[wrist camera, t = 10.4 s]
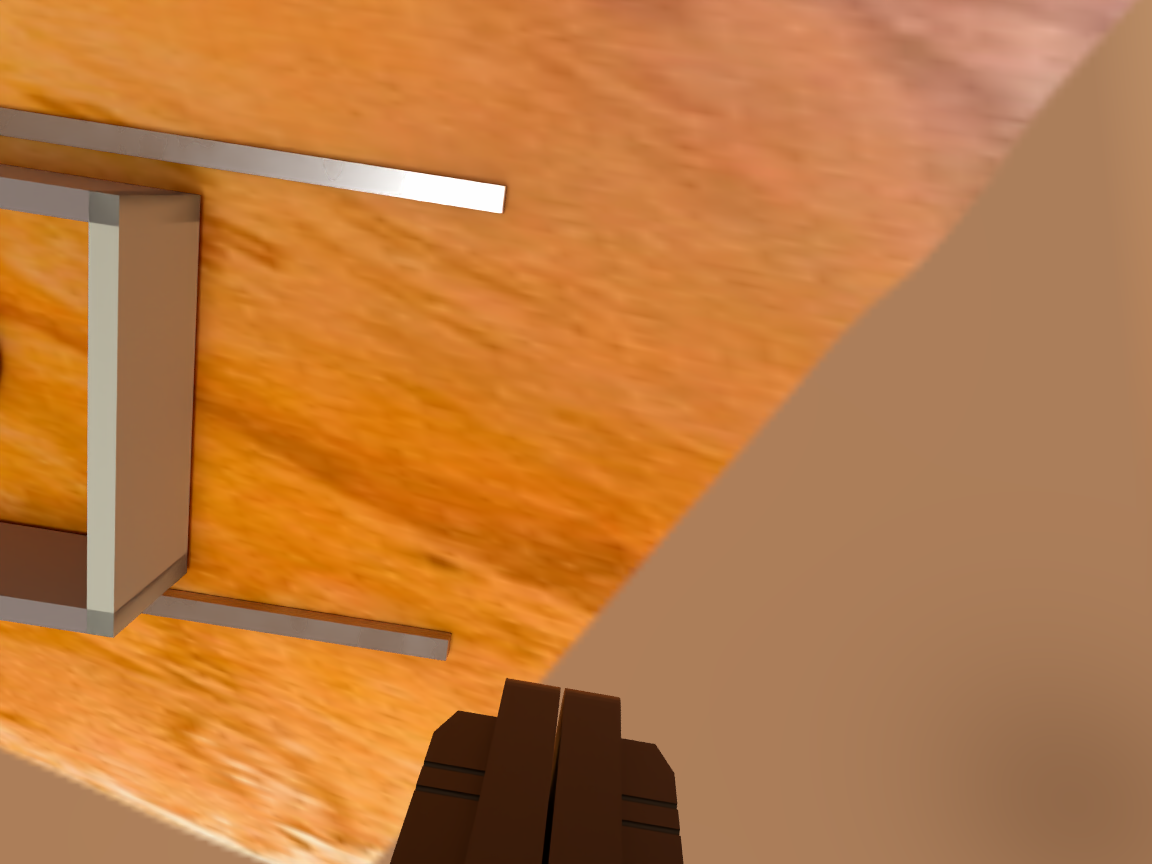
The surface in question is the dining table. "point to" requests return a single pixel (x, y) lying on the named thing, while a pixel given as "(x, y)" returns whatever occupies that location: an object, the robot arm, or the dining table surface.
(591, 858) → the robot arm
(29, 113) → the rails
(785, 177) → the dining table surface
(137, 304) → the gray u-shaped wall
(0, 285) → the dining table surface
